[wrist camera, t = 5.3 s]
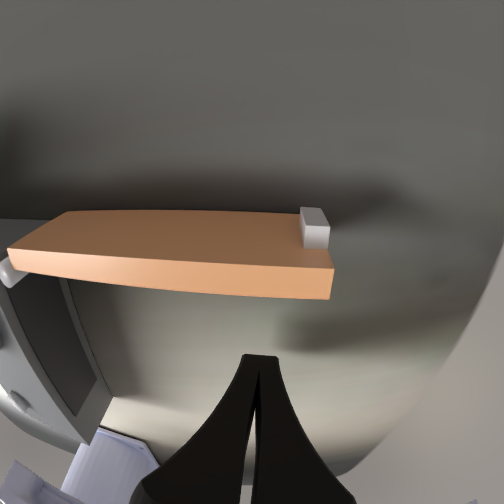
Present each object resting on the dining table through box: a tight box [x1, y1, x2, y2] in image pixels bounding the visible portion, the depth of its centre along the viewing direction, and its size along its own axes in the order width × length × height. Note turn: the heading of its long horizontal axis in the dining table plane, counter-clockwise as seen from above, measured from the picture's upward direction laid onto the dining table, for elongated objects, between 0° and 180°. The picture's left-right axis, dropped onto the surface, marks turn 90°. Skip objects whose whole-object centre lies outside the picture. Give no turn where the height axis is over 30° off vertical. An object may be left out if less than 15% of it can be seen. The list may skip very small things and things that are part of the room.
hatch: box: [0, 207, 334, 300], centre depth 8 cm, size 11×2×4 cm, turn 89°
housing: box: [0, 219, 113, 446], centre depth 11 cm, size 13×7×6 cm, turn 177°
